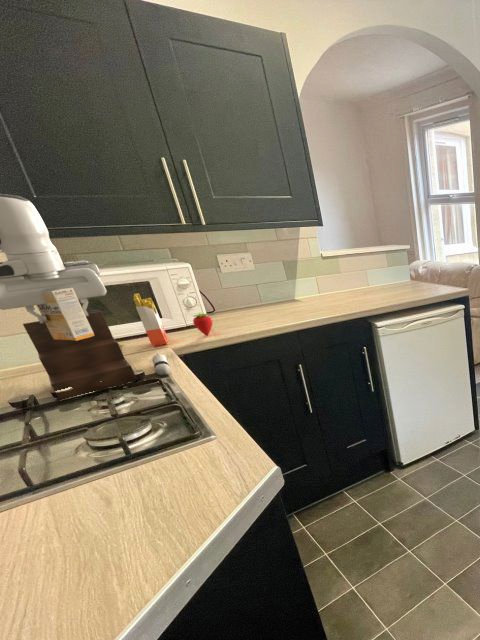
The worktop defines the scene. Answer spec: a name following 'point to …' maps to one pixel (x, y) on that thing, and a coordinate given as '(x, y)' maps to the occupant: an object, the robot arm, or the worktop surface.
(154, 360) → the torpedo
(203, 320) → the strawberry
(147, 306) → the french fries container
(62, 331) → the supplement box
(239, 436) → the worktop surface
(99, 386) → the step shelf
